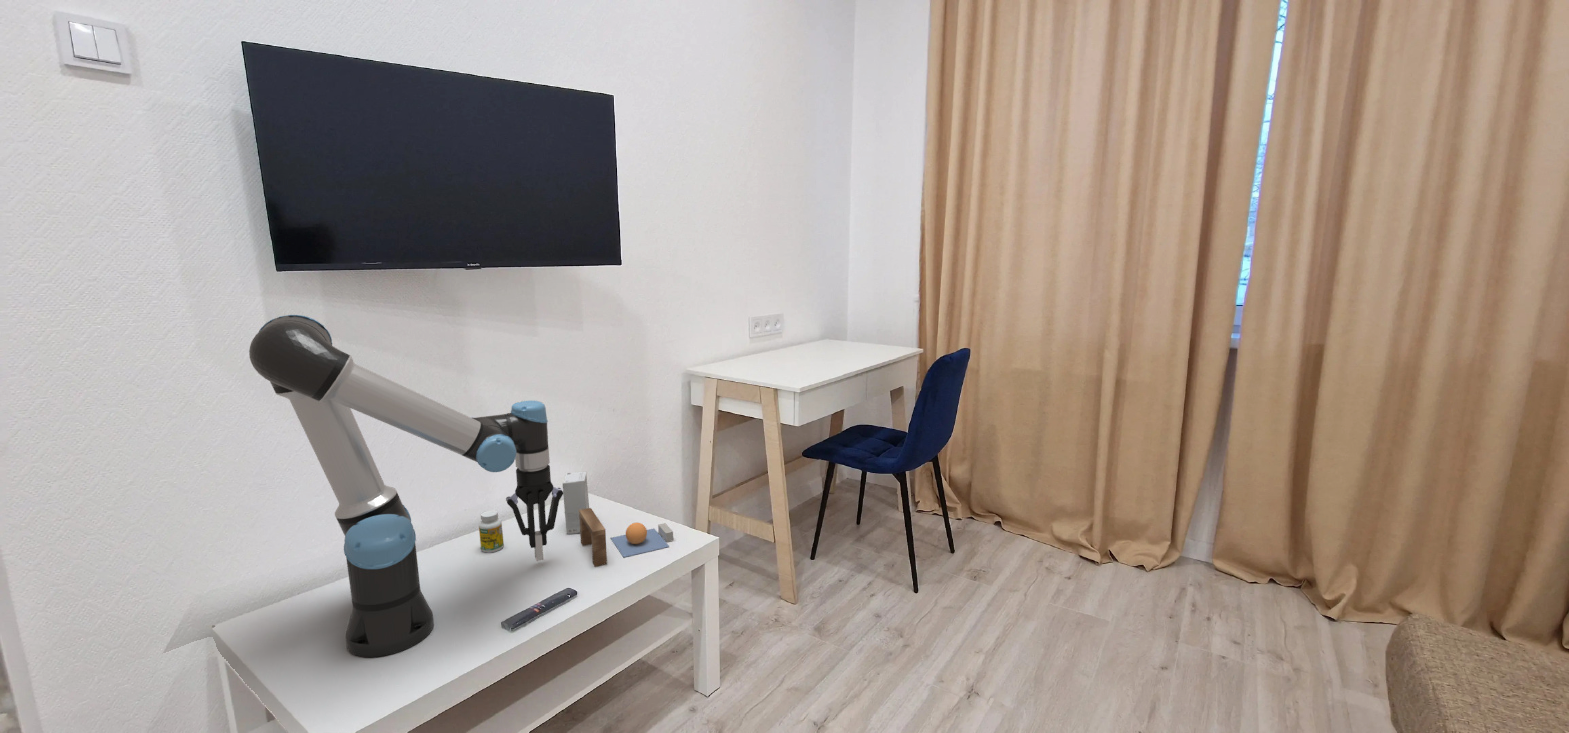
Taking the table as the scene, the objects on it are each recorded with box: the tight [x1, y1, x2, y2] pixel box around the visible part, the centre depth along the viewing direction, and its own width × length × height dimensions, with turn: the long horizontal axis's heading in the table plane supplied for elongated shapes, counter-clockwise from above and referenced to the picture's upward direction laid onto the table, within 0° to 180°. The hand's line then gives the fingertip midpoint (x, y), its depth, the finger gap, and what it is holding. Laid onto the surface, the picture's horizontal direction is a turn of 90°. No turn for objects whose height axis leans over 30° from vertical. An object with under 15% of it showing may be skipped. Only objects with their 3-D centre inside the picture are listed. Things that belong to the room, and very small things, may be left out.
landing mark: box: [610, 527, 670, 559], centre depth 172 cm, size 12×12×1 cm
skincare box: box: [562, 471, 590, 535], centre depth 180 cm, size 8×6×15 cm
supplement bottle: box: [478, 509, 504, 554], centre depth 168 cm, size 5×5×10 cm
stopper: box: [657, 522, 674, 543], centre depth 176 cm, size 2×6×2 cm, turn 30°
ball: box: [625, 522, 648, 544], centre depth 172 cm, size 6×6×6 cm
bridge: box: [579, 507, 608, 568], centre depth 166 cm, size 3×14×9 cm, turn 30°
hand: (539, 558), depth 160 cm, fingers closed
